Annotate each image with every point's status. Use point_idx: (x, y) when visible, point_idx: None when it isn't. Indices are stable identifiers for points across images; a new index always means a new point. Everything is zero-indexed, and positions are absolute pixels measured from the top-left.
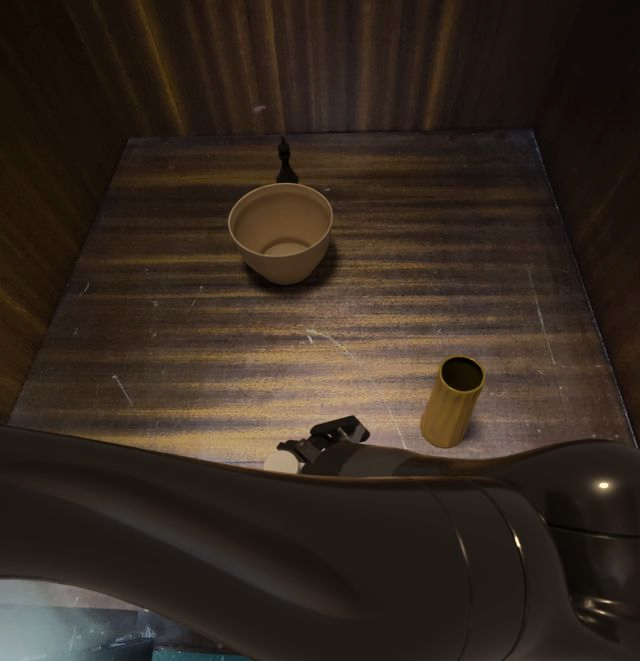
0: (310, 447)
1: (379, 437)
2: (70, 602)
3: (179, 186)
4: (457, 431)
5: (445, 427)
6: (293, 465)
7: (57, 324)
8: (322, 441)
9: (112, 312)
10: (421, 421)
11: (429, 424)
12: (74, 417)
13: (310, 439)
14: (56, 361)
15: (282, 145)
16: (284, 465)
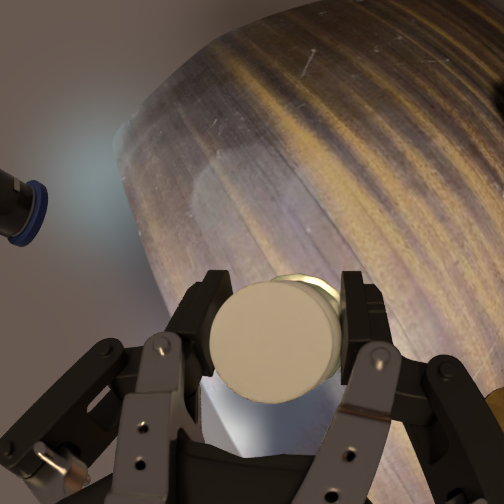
0: (363, 462)
1: None
2: (120, 176)
3: (479, 15)
4: None
5: None
6: (297, 379)
7: (316, 3)
8: (419, 413)
9: (360, 19)
10: (495, 394)
11: (498, 417)
12: (256, 54)
13: (408, 375)
14: (289, 18)
15: None
16: (280, 352)
